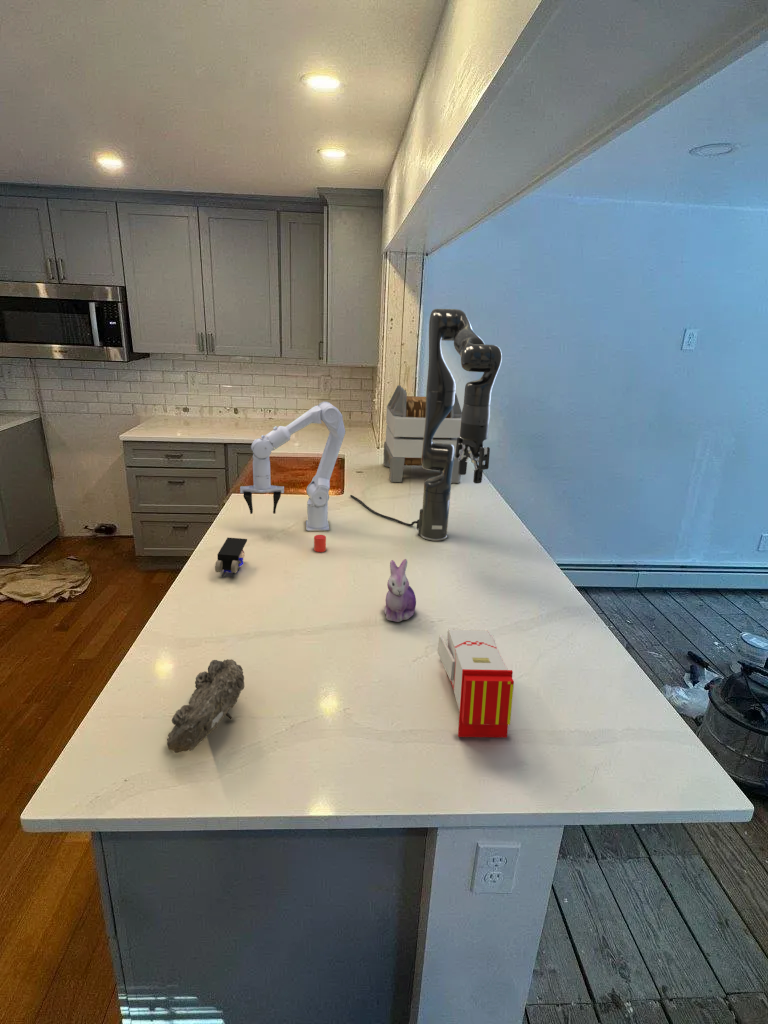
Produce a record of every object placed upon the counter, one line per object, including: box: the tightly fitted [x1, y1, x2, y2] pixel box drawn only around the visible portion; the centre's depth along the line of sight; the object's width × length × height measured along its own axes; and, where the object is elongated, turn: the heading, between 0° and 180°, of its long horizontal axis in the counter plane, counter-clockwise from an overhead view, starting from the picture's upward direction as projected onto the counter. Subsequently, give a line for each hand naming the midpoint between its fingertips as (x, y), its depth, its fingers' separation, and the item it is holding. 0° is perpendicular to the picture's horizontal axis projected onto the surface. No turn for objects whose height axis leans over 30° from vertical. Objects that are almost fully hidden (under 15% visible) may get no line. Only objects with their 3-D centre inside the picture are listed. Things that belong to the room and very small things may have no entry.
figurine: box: [384, 558, 417, 623], centre depth 145 cm, size 9×10×15 cm
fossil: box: [166, 658, 245, 754], centre depth 106 cm, size 22×10×15 cm
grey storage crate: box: [383, 384, 462, 484], centre depth 268 cm, size 34×33×41 cm
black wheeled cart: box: [214, 537, 248, 578], centre depth 166 cm, size 7×8×15 cm
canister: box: [313, 534, 327, 553], centre depth 183 cm, size 4×4×5 cm
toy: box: [437, 628, 515, 738], centre depth 117 cm, size 12×13×30 cm
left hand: (263, 512), depth 195 cm, fingers open, 7 cm apart
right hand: (469, 478), depth 159 cm, fingers open, 8 cm apart
